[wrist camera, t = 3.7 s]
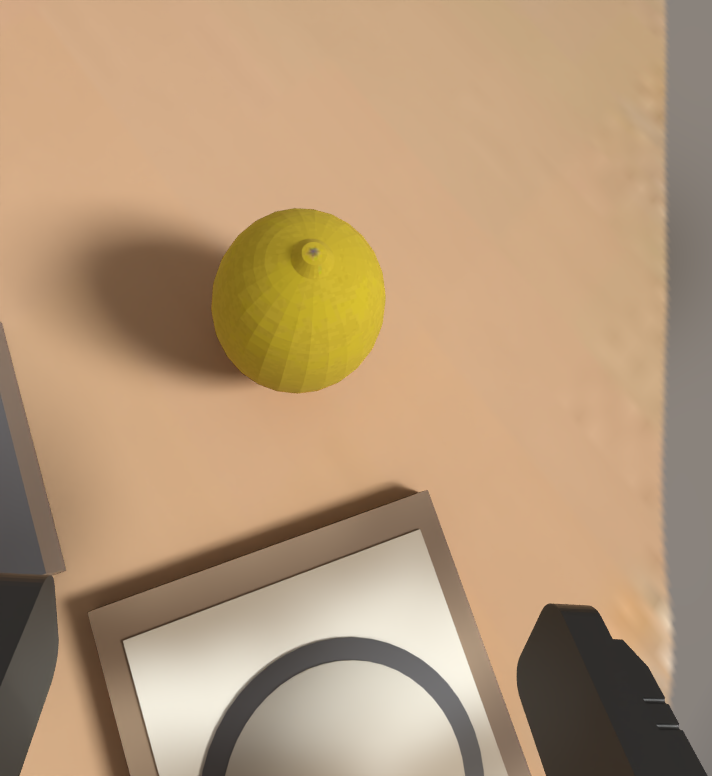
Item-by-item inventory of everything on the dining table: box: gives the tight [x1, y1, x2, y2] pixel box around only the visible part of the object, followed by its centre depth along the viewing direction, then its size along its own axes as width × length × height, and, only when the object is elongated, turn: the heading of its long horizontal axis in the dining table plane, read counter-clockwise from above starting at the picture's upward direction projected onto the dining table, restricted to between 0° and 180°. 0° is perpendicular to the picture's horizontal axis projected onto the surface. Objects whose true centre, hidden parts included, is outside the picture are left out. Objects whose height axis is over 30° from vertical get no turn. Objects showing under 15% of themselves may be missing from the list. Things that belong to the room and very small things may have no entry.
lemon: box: [211, 208, 385, 393], centre depth 21 cm, size 6×6×8 cm
